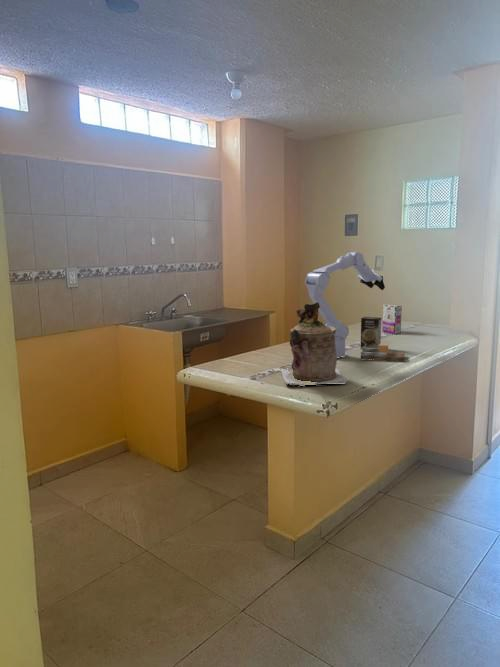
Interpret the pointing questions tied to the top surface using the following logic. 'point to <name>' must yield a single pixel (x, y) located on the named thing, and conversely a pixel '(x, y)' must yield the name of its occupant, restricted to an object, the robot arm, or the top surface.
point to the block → (383, 348)
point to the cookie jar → (313, 350)
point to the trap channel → (382, 355)
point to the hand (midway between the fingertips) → (377, 287)
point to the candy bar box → (392, 319)
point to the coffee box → (370, 332)
